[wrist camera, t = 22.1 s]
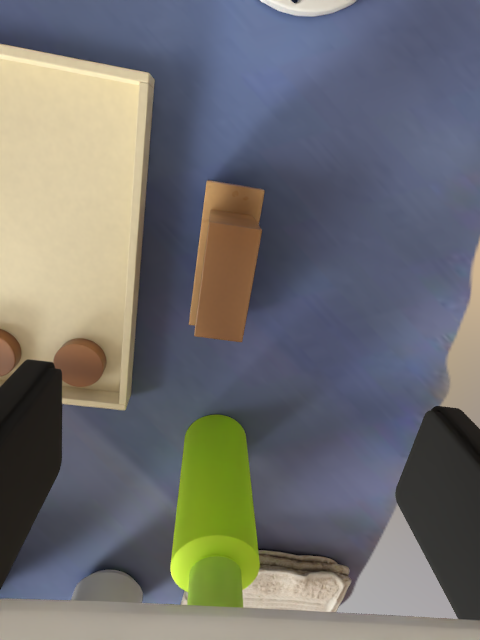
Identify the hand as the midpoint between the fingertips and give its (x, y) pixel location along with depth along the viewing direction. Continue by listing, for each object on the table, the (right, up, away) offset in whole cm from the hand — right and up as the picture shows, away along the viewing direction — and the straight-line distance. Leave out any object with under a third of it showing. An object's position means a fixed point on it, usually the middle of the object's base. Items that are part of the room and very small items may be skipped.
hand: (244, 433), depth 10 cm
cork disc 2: (-13, 0, +24) cm, 27 cm away
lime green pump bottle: (-2, -9, +29) cm, 30 cm away
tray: (-15, +9, +21) cm, 27 cm away
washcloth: (+2, -28, +37) cm, 46 cm away
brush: (-1, +8, +22) cm, 23 cm away
